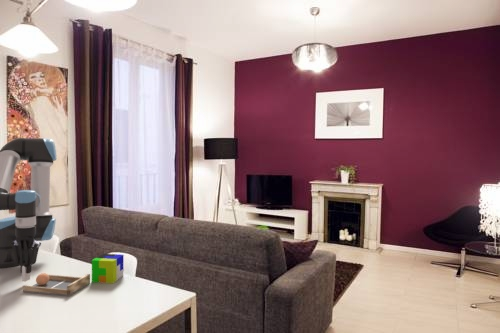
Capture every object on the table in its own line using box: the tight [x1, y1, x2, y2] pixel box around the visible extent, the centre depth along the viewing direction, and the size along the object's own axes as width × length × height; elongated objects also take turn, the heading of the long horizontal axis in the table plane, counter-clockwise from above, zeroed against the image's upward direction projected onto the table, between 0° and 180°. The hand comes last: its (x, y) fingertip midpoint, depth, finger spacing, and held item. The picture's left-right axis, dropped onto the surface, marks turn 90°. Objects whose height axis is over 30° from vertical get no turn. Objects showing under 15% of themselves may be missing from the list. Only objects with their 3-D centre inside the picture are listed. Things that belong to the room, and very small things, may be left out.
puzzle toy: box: [91, 253, 125, 284], centre depth 162 cm, size 10×10×10 cm
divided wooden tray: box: [22, 273, 91, 296], centre depth 150 cm, size 14×21×4 cm, turn 82°
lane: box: [22, 279, 91, 297], centre depth 150 cm, size 14×21×1 cm, turn 82°
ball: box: [35, 272, 50, 285], centre depth 151 cm, size 5×5×5 cm
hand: (26, 280), depth 152 cm, fingers closed
